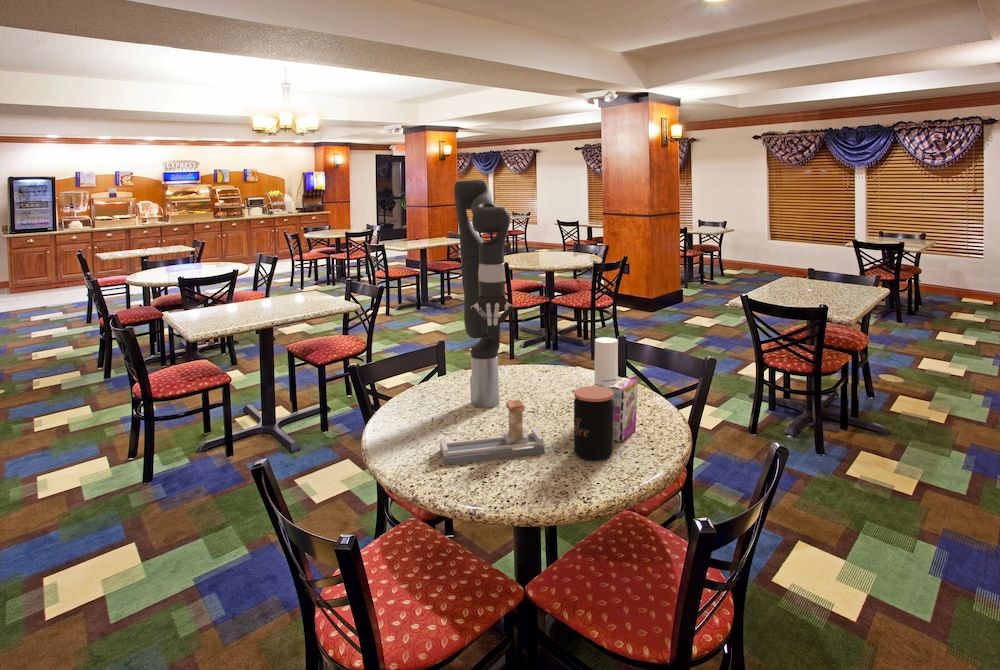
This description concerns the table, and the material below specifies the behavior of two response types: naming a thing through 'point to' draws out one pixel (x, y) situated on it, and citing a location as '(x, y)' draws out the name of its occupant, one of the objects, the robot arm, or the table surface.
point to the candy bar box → (624, 408)
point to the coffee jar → (593, 422)
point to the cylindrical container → (605, 361)
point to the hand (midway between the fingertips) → (492, 336)
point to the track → (489, 449)
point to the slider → (515, 423)
